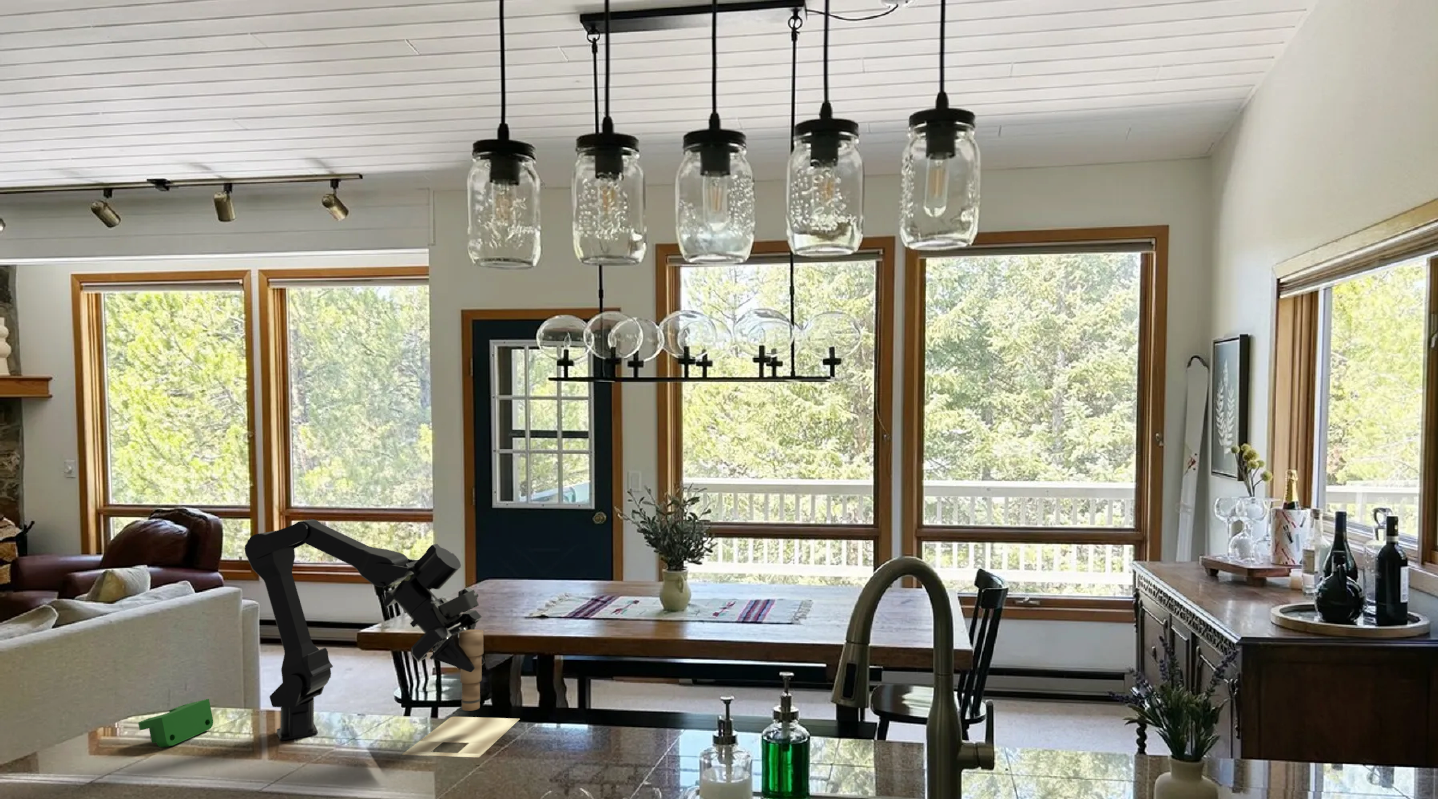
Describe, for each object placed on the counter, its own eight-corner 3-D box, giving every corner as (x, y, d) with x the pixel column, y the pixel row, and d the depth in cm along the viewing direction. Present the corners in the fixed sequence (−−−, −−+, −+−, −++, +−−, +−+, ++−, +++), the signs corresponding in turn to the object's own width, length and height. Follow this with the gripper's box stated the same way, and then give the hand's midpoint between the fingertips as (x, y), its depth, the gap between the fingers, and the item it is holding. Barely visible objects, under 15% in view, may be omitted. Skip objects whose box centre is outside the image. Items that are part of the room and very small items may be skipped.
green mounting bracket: (183, 754, 164) (190, 705, 168) (210, 748, 163) (215, 699, 167) (130, 750, 154) (138, 699, 158) (157, 744, 153) (165, 692, 157)
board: (401, 763, 147) (401, 754, 147) (451, 724, 167) (451, 716, 167) (478, 766, 145) (478, 757, 145) (520, 726, 165) (520, 718, 165)
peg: (456, 706, 159) (457, 631, 159) (480, 702, 161) (480, 628, 161) (460, 713, 155) (461, 635, 156) (485, 709, 157) (485, 633, 158)
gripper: (428, 585, 150) (487, 649, 148) (472, 568, 169) (525, 625, 167) (386, 629, 151) (444, 693, 149) (434, 607, 169) (486, 665, 167)
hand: (477, 667), depth 158 cm, fingers closed on peg, 4 cm apart
